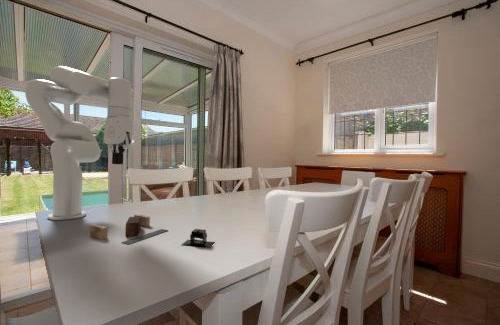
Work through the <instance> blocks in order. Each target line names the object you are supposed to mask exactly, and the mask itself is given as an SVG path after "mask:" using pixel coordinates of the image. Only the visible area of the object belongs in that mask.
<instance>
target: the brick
mask: <svg viewBox="0 0 500 325" xmlns="http://www.w3.org/2000/svg"><path fill="white" fill-rule="evenodd" d="M141 227H142V226H141V217H134V216H129V217H128V219H127V221H126V223H125V238H131V237H133V238H136V237H139V234H140V231H141Z"/></svg>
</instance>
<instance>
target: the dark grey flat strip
mask: <svg viewBox="0 0 500 325" xmlns="http://www.w3.org/2000/svg"><path fill="white" fill-rule="evenodd" d="M165 232H169V230H167V229H163V228H161V229H158V230H155V231H152V232H149V233H145V234H142V235H138V236H135V237H133V238H131V239H127V240H124V241H121V244H125V245H129V246H130V245H131V244H135V243H137V242H140V241H144V240H146V239H148V238H152V237H154V236H157V235H161V234H163V233H165Z"/></svg>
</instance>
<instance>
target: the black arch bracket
mask: <svg viewBox="0 0 500 325" xmlns="http://www.w3.org/2000/svg"><path fill="white" fill-rule="evenodd" d="M189 238H190V239H186V241H184V242H183V243H181V244H180V246H184V247H192V248H193V247H194V248H202V249H212V247H213V246H214V245H215V244H216V243H215V242H216V241H208V240H207V238H208V233H207V229H200V228H199V229H198V228H194V229H193V230H192V231H191V233H190V235H189ZM214 243H215V244H214ZM213 244H214V245H213ZM212 245H213V246H212Z"/></svg>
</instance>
